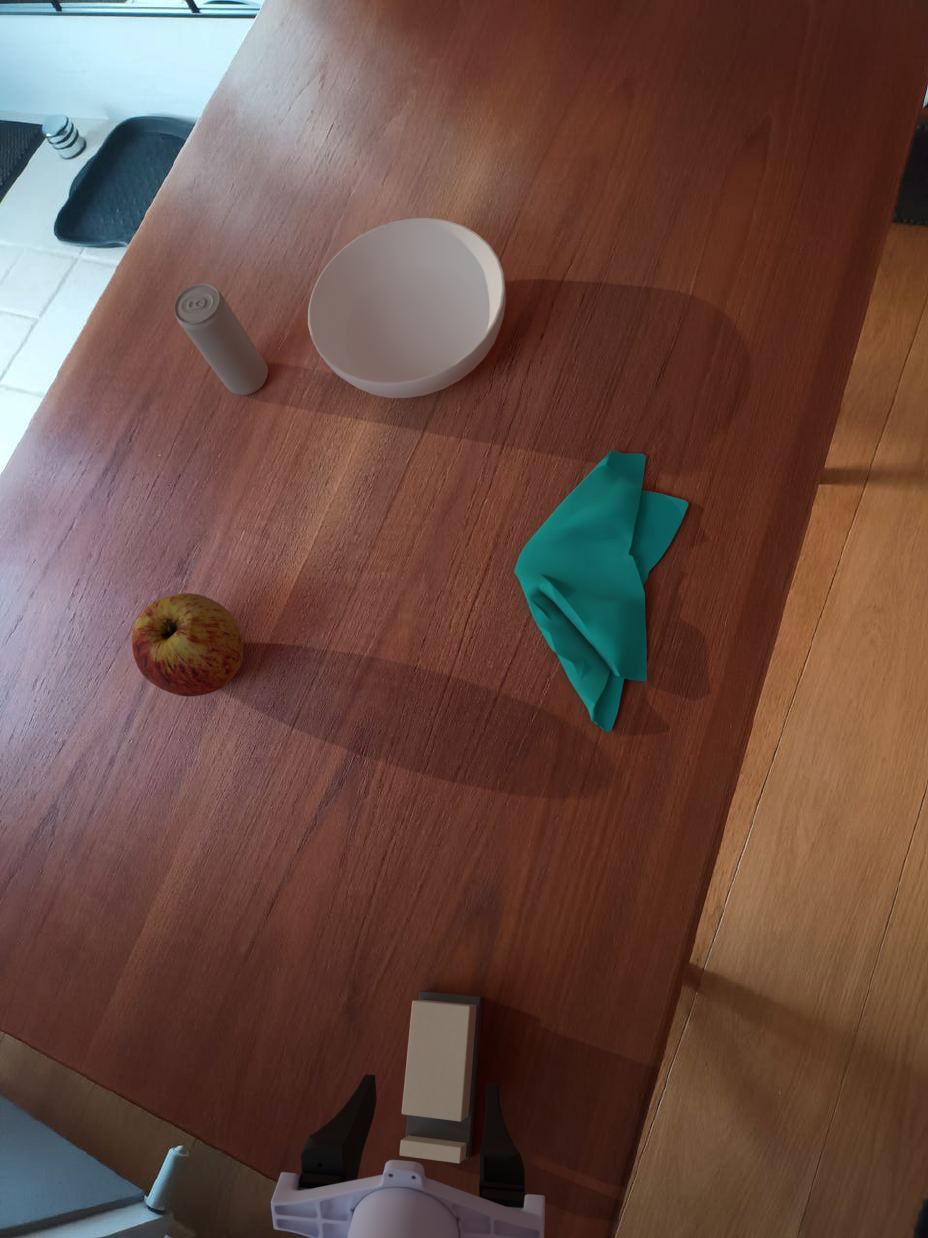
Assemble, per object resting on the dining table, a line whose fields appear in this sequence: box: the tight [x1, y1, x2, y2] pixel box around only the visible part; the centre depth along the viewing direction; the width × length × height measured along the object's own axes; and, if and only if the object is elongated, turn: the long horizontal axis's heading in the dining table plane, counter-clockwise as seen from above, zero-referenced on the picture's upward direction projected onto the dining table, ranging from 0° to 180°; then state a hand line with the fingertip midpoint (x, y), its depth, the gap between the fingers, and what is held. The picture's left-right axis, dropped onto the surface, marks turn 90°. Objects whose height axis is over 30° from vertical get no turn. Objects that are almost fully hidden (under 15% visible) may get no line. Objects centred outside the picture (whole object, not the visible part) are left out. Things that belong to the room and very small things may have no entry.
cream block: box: [399, 990, 484, 1164], centre depth 70 cm, size 11×5×4 cm, turn 175°
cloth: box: [514, 449, 689, 732], centre depth 83 cm, size 26×14×2 cm, turn 162°
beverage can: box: [173, 282, 269, 396], centre depth 94 cm, size 5×5×12 cm
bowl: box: [307, 217, 507, 399], centre depth 94 cm, size 20×20×6 cm
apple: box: [131, 592, 244, 697], centre depth 84 cm, size 9×9×10 cm
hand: (431, 1092), depth 59 cm, fingers open, 7 cm apart
